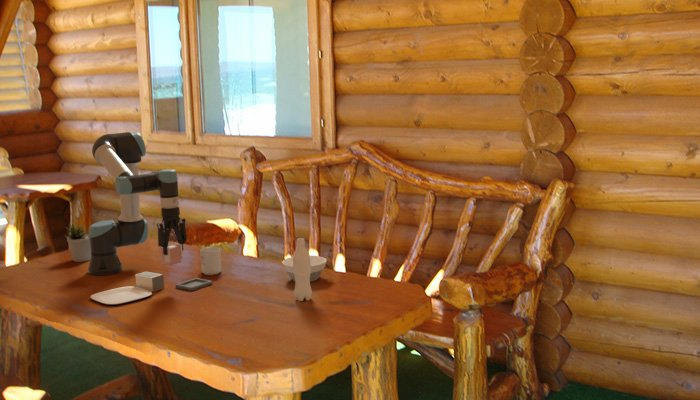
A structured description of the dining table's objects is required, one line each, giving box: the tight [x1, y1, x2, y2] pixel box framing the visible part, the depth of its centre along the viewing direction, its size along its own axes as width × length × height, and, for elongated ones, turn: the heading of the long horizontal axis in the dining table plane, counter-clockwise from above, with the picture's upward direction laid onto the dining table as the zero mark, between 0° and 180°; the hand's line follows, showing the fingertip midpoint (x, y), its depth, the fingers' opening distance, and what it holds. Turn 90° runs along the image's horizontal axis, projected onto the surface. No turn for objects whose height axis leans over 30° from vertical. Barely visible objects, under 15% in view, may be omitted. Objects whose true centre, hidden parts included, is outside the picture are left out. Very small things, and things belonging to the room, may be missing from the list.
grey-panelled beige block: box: [135, 271, 165, 293], centre depth 353 cm, size 11×6×6 cm, turn 53°
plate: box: [90, 285, 153, 306], centre depth 341 cm, size 22×22×2 cm
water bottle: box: [292, 237, 313, 302], centre depth 327 cm, size 7×7×25 cm
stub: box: [160, 244, 182, 266], centre depth 348 cm, size 5×6×7 cm
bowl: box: [281, 255, 328, 283], centre depth 359 cm, size 20×19×8 cm
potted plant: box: [64, 222, 91, 263], centre depth 407 cm, size 13×14×20 cm
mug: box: [199, 246, 222, 276], centre depth 376 cm, size 12×9×11 cm
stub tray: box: [175, 277, 213, 292], centre depth 354 cm, size 10×12×2 cm
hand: (174, 260), depth 347 cm, fingers closed on stub, 6 cm apart
